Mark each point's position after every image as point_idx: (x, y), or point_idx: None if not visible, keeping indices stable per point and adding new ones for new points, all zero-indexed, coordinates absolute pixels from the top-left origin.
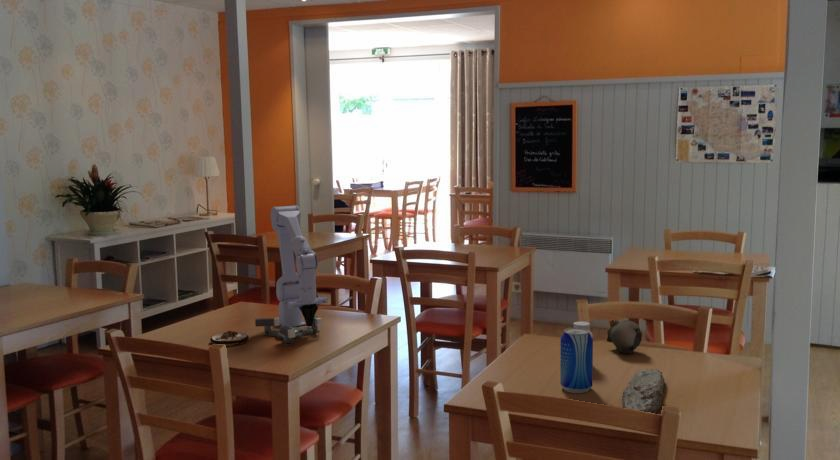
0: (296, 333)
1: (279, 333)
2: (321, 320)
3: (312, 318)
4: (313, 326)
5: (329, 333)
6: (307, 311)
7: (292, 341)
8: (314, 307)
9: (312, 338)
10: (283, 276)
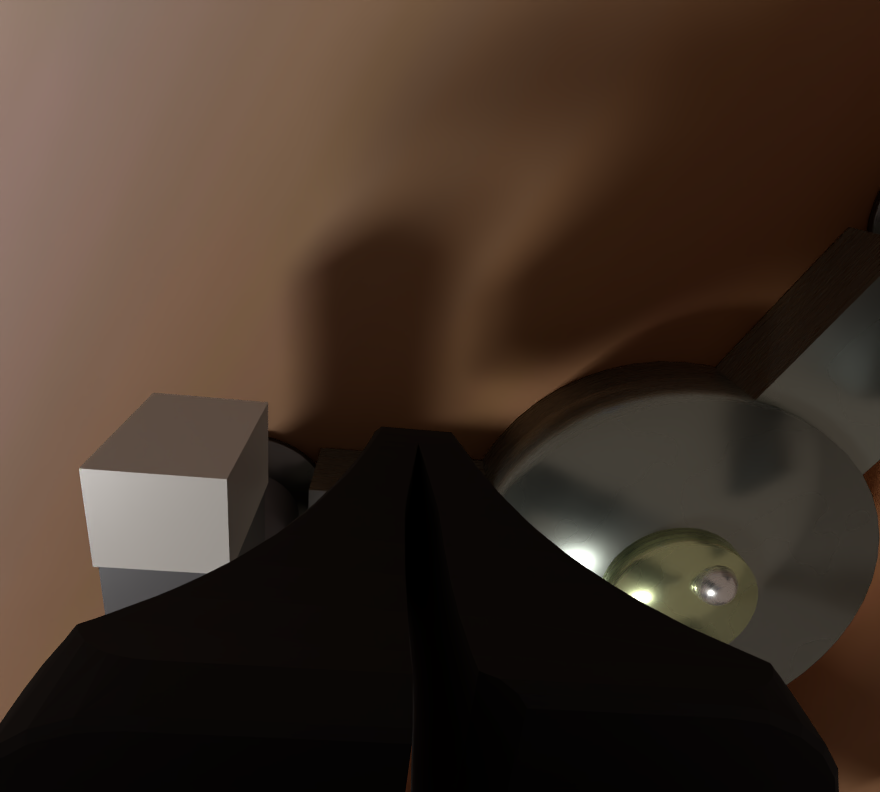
0: (707, 396)
1: (871, 558)
2: (116, 443)
3: (370, 489)
4: (268, 532)
5: (96, 275)
6: (641, 628)
7: (862, 235)
8: (281, 691)
9: (483, 209)
10: None
